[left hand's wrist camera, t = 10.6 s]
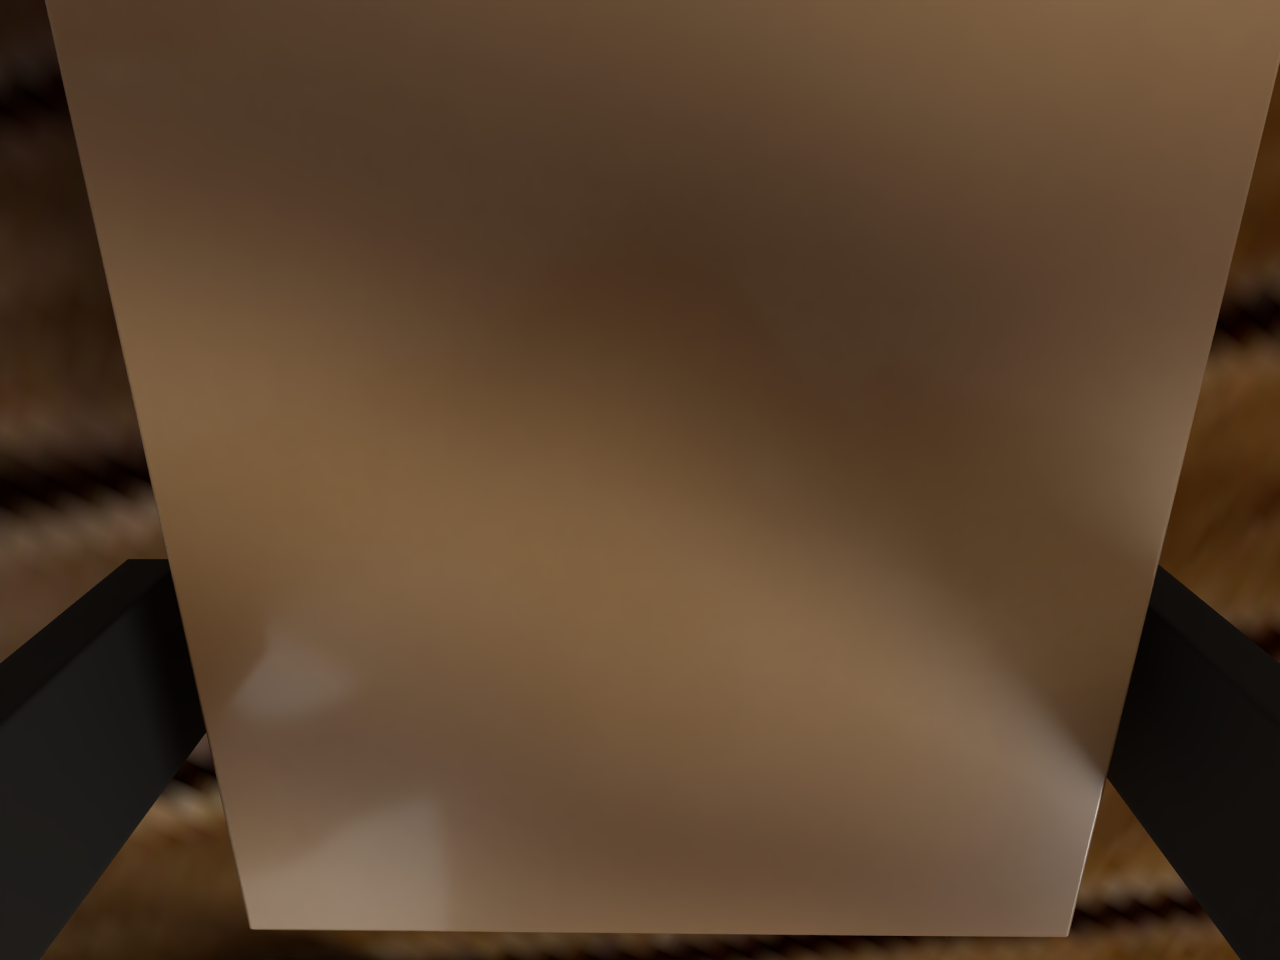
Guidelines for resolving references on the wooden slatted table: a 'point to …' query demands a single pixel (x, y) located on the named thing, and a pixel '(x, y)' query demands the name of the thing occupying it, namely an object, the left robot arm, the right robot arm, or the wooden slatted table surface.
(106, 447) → the wooden slatted table surface
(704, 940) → the wooden slatted table surface
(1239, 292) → the wooden slatted table surface
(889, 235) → the cabinet
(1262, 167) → the wooden slatted table surface
